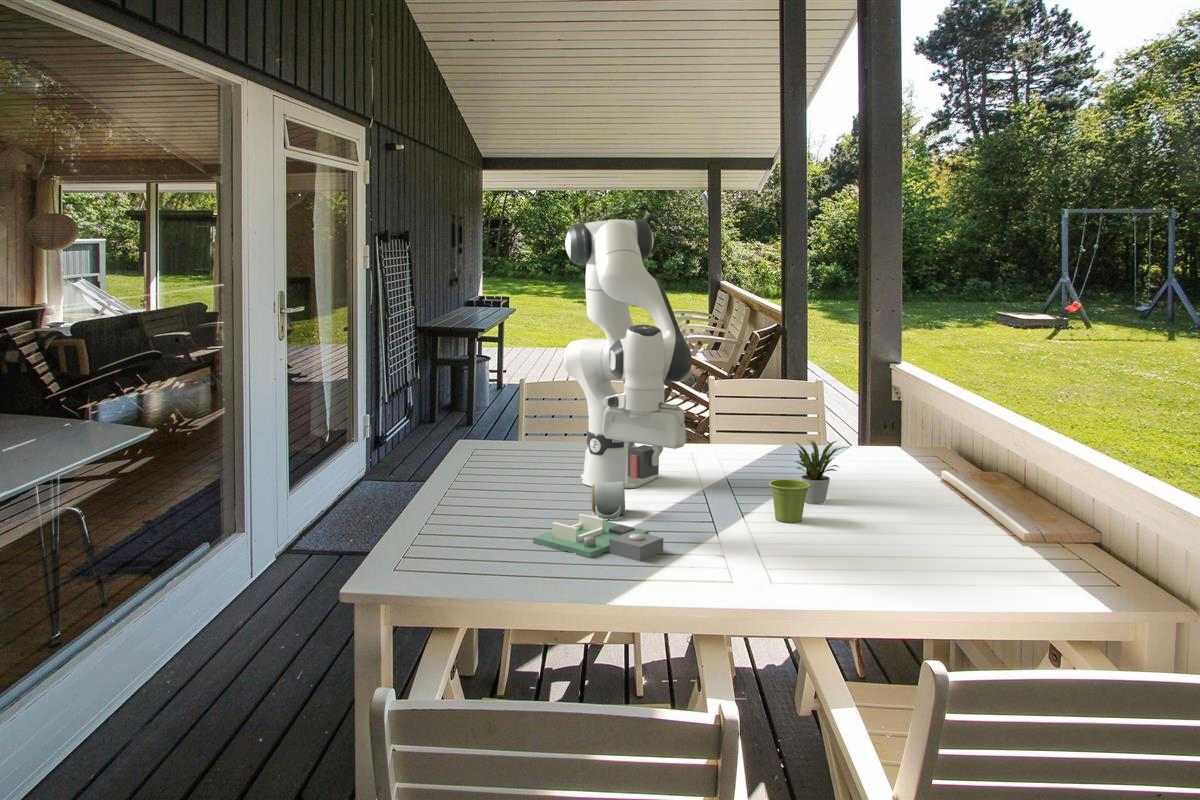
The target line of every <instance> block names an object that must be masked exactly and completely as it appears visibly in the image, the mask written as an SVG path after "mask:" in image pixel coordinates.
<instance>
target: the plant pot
mask: <svg viewBox="0 0 1200 800" xmlns="http://www.w3.org/2000/svg"><path fill="white" fill-rule="evenodd" d="M768 486H770V491H771V492H772V500H773V509H774V519H775V520H776V521H779V522H780V521H782V522H784V523H793V524H795V523H798V522H799V521H800V522H801V521H802V520H803V515H804V510H805V509H804V508H805V503H806V502H805V498H806V493H807V492H808V488H809V487H810V484H809V483H807V482H804V481H802V480H800V479H799V480H798V479H785V478H784V479H782V478H781V479H774V480H771V481H769V482H768Z"/></svg>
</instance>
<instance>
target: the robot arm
mask: <svg viewBox="0 0 1200 800" xmlns="http://www.w3.org/2000/svg"><path fill="white" fill-rule="evenodd" d="M654 241H655V240H654V235H653V231H652V229H651V225H650V224H649V223H648V222H647V221H646V220H642V219H636V218H633V219H632V220H631V219H620V218H619V219H618V218H617V219H615V218H614V219H608V220H599V221H597V220H596V221H592V222H591V221H590V222H586V223H584V222H579V223H574V224H572V225H571V226H570V227H569V228H568V229H567V233H566V237H565V241H564V246H565V251H566V254H567V256H568V259H569V261H570V262H572V264H573V265H577V266H584V267H585V279H584V281H585V303H586V308H585V309H586V316H587V318H588V319H589V321H590V322H591V323H592V324H594V325H595V326H597V327H598V328H600V329H601V330H602V331H603V333H604V335H605V336H606V338H595V337H594V338H590V337H589V338H588V337H587V338H579V339H575V340H572V341H571V342H569V343H568V345H567V346H566V348H565V349H564V353H563V364H564V368H565V369H566V371H567V373H568V374H570V376H572V377H573V378H574V380H576V381H577V383H578V384H579V386H580V387H581V390H582V391H583V393H584V396H585V399H586V402H587V403H586V404H587V415H588V417H587V419H588V430H587V432H586V444H587V448H586V449H585V455H584V465H583V473H581V475H580V478H581V479H582V481H581V482H582V483H583V484H584V485H586V486H589V487H592V485H594V484H597V483H609V482H621V481H623V482H624V489H625V488H626V489H628V488H629V489H630V488H631V489H632V488H633V489H635V488H639V487H640V486H643V485H645V484H647V483H649V482H651V481H653V480H655V479H657V478H658V477H659V474H657V475H654V476H651V477H647V478H644V479H640V478H637V479H635V478H630V477H629V476H628V449H631V448H635V447H637V446H636V444H641V445H647V446H652V450H654V453H653V455H652V457H649V465H652V466H656V465H658V458H660V456H661V454H662V453H663V451H664V448H666V449H667V448H668V449H674V450H677V449H680V448H683V447H684V445H686V443H687V435H686V434H687V433H686V424H685V417H686V416H685V411H684V410H683V408H682V407H680V405H678V404H669V403H665V383H664V382H672V383H673V382H675V383H678V382H679V381H681V380H682V379H684V378H685V377H686V376H687V375H688V374H689V372H690V371H691V369H692V365H693V358H692V352H691V348H690V346H689V344H688V342H687V340H686V339H685V337H684V335H683V332H682V330H681V329H680V326H679V324H678V320H677V318H676V316H675V314H674V311H673V309H672V306H671V303H670V301H669V298H668V295H667V292H666V291H665V289H664V286H663V285H662V283H661V281H659V280H658V279H656V278H654V277H653V276H652V275H651V274H650V272H648V270H647V269H646V267H645V265H644V262H643V261H645V260H647V259H648V258H649V257H650V256H651V255H652V251H653V247H654ZM630 305H632V306H635V307H637V308H640V309H642V310H645V311H646V312H647V313H649V315H650V316H651V317H652V319H653V322H654V324H655V325H649V324H635V325H634V323H633V320H632V318H631V314H630ZM611 381H616V382H624V384H623V391H622V392H617V391H616V390H615V388H614V387H613V385H612V382H611Z"/></svg>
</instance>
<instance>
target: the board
mask: <svg viewBox="0 0 1200 800" xmlns="http://www.w3.org/2000/svg"><path fill="white" fill-rule="evenodd" d="M631 531H636V532H640V533H645V534H649V533H650V532H649V530H647V529H642V528H639V527H638V528H637V527H633V526H629V525H625V524H620V523H616V522H612V521H609V520H605V519H602V518H599V517H598V516H597V517H596V516H593V515H588V514H584V513H579V514H578V522H577V523H572V524H571V525H567V524H563V523H560V522H556V521H553V522H551V531H549V532H546V533H542V534H538V535H537V536H534V537H532V543H533V544H536V545H539V544H540V546H543V545H544V547H547V548H551V547H552V549H554V548H556V549H555V550H558V549H560V550H559V551H562V550H564V551H563V552H566V551H568V552H567V553H570V552H572V553H571V554H573V553H576V554H575V555H577V554H579V555H578V556H581V555H582V556H581V557H585V558H588V557H589V559H591V558H594V557H597V556H599V555H602V554H604V552H605V553H607V551H608V552H609V539H611V538H614V537H617V536H620V535H623V534H625V533H628V532H631ZM649 535H650V534H649ZM596 555H597V556H596Z"/></svg>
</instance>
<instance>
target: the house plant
mask: <svg viewBox="0 0 1200 800" xmlns="http://www.w3.org/2000/svg"><path fill="white" fill-rule="evenodd" d="M806 440H807V441H808V442H809V443H810V444H811V446H812V448H813V452H811V455H810V454H809V453H808V451H807V450H806V448H804V447H803V446H802V445H801V444H799V443H798V442H795V444H796V445H797V446H798V447H799V448H800V449H798V448H796V447H794V449H795V450H797V451H798V453H799V454H798V455H799V459H800V460H798V461H793V462H794V463H797V464H798V465H800V466H802V467H804V468H805V469H806V470H804V469H803V468H802V467H796V468H795V470H796V469H797V470H801V471H804V473H805V474H803V475H800V479H801V480H800V481H804V482H807V483H809V484H810V487H809V488H808V492H807V493H806V498H805V503H806V504H809V503H810V504H811V505H821V504H820V503H823V504H825V503H826V499H827V495H828V490H829V486H830V480H831V478H830V477H829V476H827V475H824V473H826V472H830V471H832V472H833V471H834V472H837V469H834V468H832V467H837V468H840V466H839V465H837V464H832V465H831V466H828V465H829V464H830V463H831V462H832V460H834V459H836V458H835V457H833V458H831V457H832V456H833V454H835V453H836V452H837V451H839V450H841V449H846V448H847V449H849V448H851V447H849V446H847V447H846V446H844V447H836V448H835V447H833V448H831V447H832V446H833V445H834V444H835V443H837V442H838V440H835V441H832V442H830V443H828V444H827V445H826V447H824V449H823V451H822V454H821V456H820V454H819V453H820V451H819V447H818V445H817V443H816V441H815V440H814V439H813V440H811V439H810V440H809V439H808V438H806ZM830 448H831V449H830ZM827 467H828V468H827ZM824 502H825V503H824ZM810 504H809V505H810Z"/></svg>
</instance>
